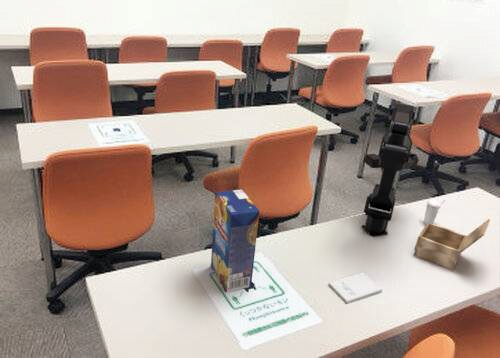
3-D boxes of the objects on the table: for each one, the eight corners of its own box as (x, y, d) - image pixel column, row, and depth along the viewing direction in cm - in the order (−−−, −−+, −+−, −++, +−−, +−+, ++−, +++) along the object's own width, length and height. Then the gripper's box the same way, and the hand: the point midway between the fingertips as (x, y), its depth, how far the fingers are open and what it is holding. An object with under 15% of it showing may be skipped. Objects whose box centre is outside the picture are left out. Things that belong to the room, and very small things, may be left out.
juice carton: (251, 287, 125) (259, 211, 114) (225, 292, 122) (231, 215, 111) (234, 261, 135) (241, 188, 124) (210, 265, 132) (215, 192, 121)
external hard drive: (381, 293, 128) (346, 305, 122) (362, 276, 134) (327, 286, 129) (382, 289, 127) (347, 300, 122) (363, 271, 134) (328, 282, 128)
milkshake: (438, 228, 162) (445, 203, 157) (422, 225, 163) (429, 200, 158) (436, 221, 166) (443, 197, 161) (420, 218, 167) (427, 194, 162)
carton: (412, 255, 145) (418, 236, 142) (422, 239, 154) (427, 221, 151) (452, 271, 140) (459, 252, 136) (460, 253, 148) (467, 235, 145)
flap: (482, 233, 131) (484, 235, 131) (488, 218, 140) (490, 220, 139) (459, 251, 137) (461, 252, 137) (466, 236, 145) (468, 237, 145)
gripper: (386, 151, 145) (375, 194, 152) (434, 148, 151) (422, 190, 158) (367, 138, 154) (358, 179, 161) (413, 135, 160) (402, 175, 167)
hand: (385, 181), depth 162 cm, fingers closed
